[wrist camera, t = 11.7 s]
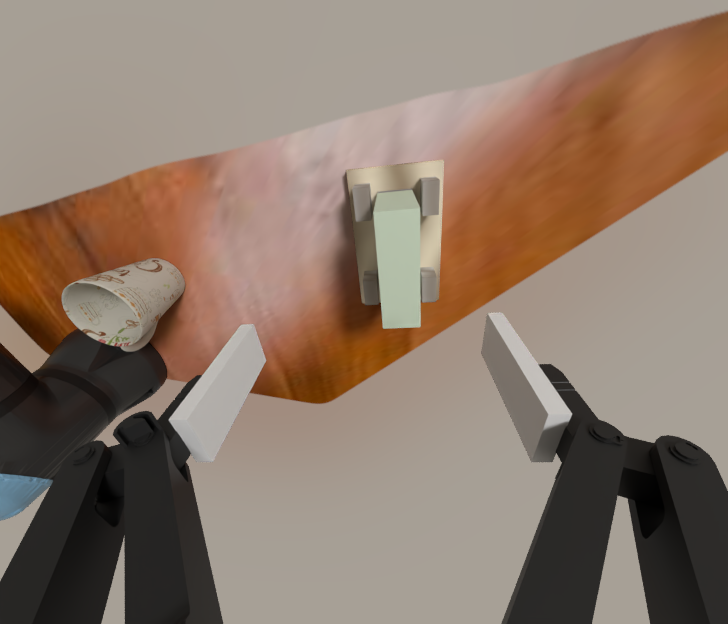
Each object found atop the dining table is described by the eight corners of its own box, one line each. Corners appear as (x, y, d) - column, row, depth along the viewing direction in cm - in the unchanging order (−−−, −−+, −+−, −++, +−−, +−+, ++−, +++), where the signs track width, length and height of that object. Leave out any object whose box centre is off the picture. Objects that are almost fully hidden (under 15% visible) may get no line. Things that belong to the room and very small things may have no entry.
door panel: (384, 284, 36) (383, 328, 28) (377, 191, 31) (373, 212, 22) (413, 282, 36) (420, 327, 28) (411, 188, 30) (420, 207, 22)
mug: (192, 258, 38) (135, 294, 29) (197, 332, 44) (151, 379, 36) (127, 241, 37) (50, 272, 29) (142, 319, 44) (82, 363, 35)
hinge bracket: (362, 299, 39) (360, 315, 36) (347, 169, 31) (342, 173, 27) (437, 295, 38) (442, 311, 34) (442, 159, 30) (449, 162, 26)
